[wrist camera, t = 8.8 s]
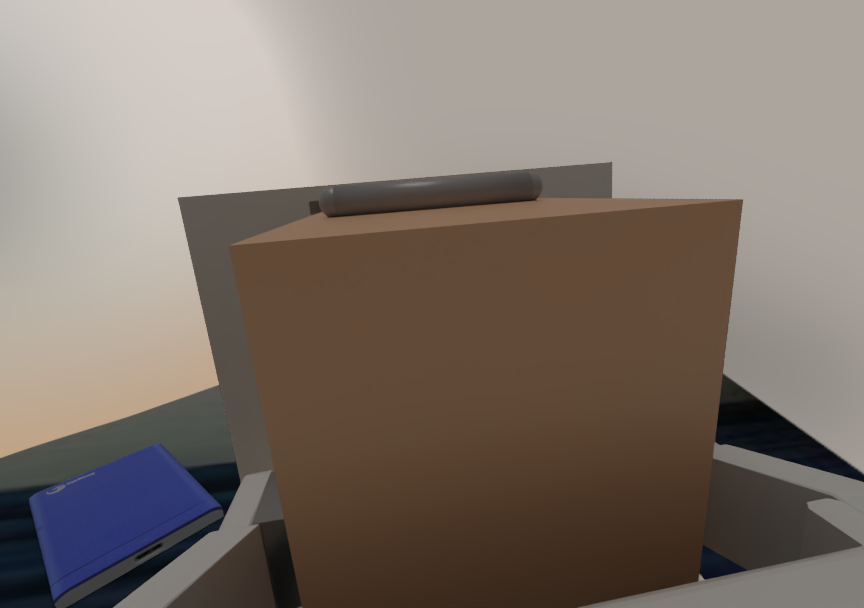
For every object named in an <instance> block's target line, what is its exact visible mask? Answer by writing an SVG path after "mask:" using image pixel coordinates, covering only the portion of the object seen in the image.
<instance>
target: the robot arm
mask: <svg viewBox="0 0 864 608" xmlns="http://www.w3.org/2000/svg"><path fill="white" fill-rule="evenodd" d="M703 545H705V546H706V547H708V548H710V549H712V550H713V551H715V552H717V553H719V554H720V555H722V556H724V557H726V558H728V559H729V560H731V561H733V562H735V563H736V564H738V565H740V566H742V567H743V568H745V569H747V570H749V571H745V572H740V573H735V574H731V575H726V576H721V577H717V578H712V579H707V580H703V581H698V582H693V583H689V584H684V585H679V586H675V587H670V588H665V589H661V590H656V591H651V592H647V593H642V594H637V595H633V596H628V597H623V598H619V599H614V600H610V601H605V602H600V603H596V604H591V605H587V606H582V607H577V608H864V482H861V481H857V480H854V479H850V478H846V477H843V476H839V475H835V474H832V473H828V472H825V471H821V470H817V469H814V468H810V467H807V466H803V465H799V464H796V463H792V462H788V461H785V460H781V459H778V458H774V457H770V456H767V455H763V454H759V453H756V452H752V451H749V450H745V449H741V448H738V447H734V446H730V445H727V444H726V445H718V444H717V443H714V452H713V460H712V469H711V478H710V486H709V495H708V503H707V512H706V520H705V529H704V537H703ZM298 607H302V605H301V600H300V595H299V590H298V586H297V581H296V576H295V571H294V566H293V561H292V556H291V551H290V546H289V541H288V536H287V531H286V526H285V521H284V517H283V512H282V507H281V502H280V497H279V492H278V487H277V482H276V477H275V472H274V471H272V470H270V471H264V472H258V473H252V474H248V475H246V476H245V477H244V478H243V480H242V482H241V484H240V486H239V489H238V491H237V493H236V495H235V497H234V499H233V501H232V503H231V505H230V508H229V510H228V512H227V514H226V516H225V518H224V520H223V522H222V524H221V527H220V529H219V531H215V532H210V533H209V534H207V535H206V536H205V537H203V538H202V539H201V540H200V541H198V542H197V543H196V544H194V545H193V546H192V547H191V548H189V549H188V550H187V551H185V552H184V553H183V554H182V555H180V556H179V557H178V558H176V559H175V560H174V561H173V562H171V563H170V564H169V565H167V566H166V567H165V568H164V569H162V570H161V571H160V572H158V573H157V574H156V575H155V576H153V577H152V578H151V579H149V580H148V581H147V582H146V583H144V584H143V585H142V586H140V587H139V588H138V589H137V590H135V591H134V592H133V593H131V594H130V595H129V596H128V597H126V598H125V599H124V600H122V601H121V602H120V603H119V604H117V605H116V606H115V607H113V608H298Z"/></svg>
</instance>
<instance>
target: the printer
mask: <svg viewBox="0 0 864 608" xmlns="http://www.w3.org/2000/svg"><path fill="white" fill-rule="evenodd" d="M517 172H533V173H535V174H537V175H538V176H539V177H540V179H541V181H542V184H543V189H542V192H541V194H540V196H539V197H538V198H612V162H610V163H598V164H585V165H573V166H560V167H548V168H537V169H524V170H511V171H499V172H487V173H475V174H462V175H451V176H438V177H426V178H414V179H401V180H389V181H376V182H364V183H352V184H340V185H328V186H315V187H304V188H291V189H279V190H267V191H254V192H242V193H230V194H217V195H205V196H193V197H180V198H178V201H179V205H180V210H181V214H182V218H183V223H184V228H185V232H186V237H187V241H188V246H189V250H190V255H191V259H192V263H193V268H194V273H195V277H196V282H197V286H198V291H199V295H200V300H201V305H202V309H203V314H204V317H205V323H206V327H207V332H208V336H209V340H210V345H211V350H212V354H213V359H214V363H215V367H216V372H217V377H218V381H219V386H220V390H221V395H222V399H223V404H224V408H225V413H226V417H227V422H228V426H229V431H230V435H231V440H232V444H233V449H234V454H235V458H236V463H237V467H238V472H239V476H240V481H241V482H242V480H243V478H244V477H245V476H246V475H248V474H252V473H258V472H264V471H270V470H272V471H274V467H273V462H272V457H271V452H270V448H269V443H268V438H267V433H266V428H265V423H264V418H263V413H262V408H261V403H260V398H259V393H258V388H257V383H256V379H255V374H254V369H253V364H252V359H251V354H250V349H249V344H248V339H247V334H246V329H245V324H244V319H243V314H242V309H241V305H240V300H239V295H238V290H237V285H236V280H235V275H234V270H233V265H232V260H231V255H230V250H229V245H232V244H234V243H237V242H240V241H243V240H245V239H248V238H251V237H254V236H256V235H259V234H262V233H265V232H267V231H270V230H273V229H276V228H279V227H281V226H284V225H287V224H290V223H292V222H295V221H298V220H301V219H303V218H306V217H309V216H312V215H314V214H317V213H320V212H322V211H321V209H320V207H319V197H320V194H321V193H322V192H323V191H324V190H325V189H326V188H328V187H331V186H342V185H355V184H369V183H382V182H396V181H409V180H423V179H436V178H450V177H463V176H477V175H490V174H504V173H517ZM703 580H704V579H703V577H702V576H701V575H700V574H699V580H698V581H703ZM298 608H302V607H298Z"/></svg>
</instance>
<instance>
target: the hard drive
mask: <svg viewBox="0 0 864 608" xmlns="http://www.w3.org/2000/svg"><path fill="white" fill-rule="evenodd" d="M29 504H30V507H31V511H32V515H33V520H34V524H35V528H36V531H37V536H38V540H39V544H40V548H41V552H42V556H43V560H44V565H45V568H46V572H47V576H48V580H49V584H50V588H51V594H52V597H53V602H54V604H55V606H56V608H66V607H68V606H70V605H71V604H73V603H75V602H76V601H78V600H80V599H82V598H83V597H85V596H87V595H88V594H90V593H92V592H94V591H95V590H97V589H99V588H101V587H102V586H104V585H106V584H107V583H109V582H111V581H113V580H114V579H116V578H118V577H119V576H121V575H123V574H125V573H126V572H128V571H130V570H132V569H133V568H135V567H137V566H138V565H140V564H142V563H144V562H145V561H147V560H149V559H151V558H152V557H154V556H156V555H157V554H159V553H161V552H163V551H164V550H166V549H168V548H170V547H171V546H173V545H175V544H176V543H178V542H180V541H182V540H183V539H185V538H187V537H189V536H190V535H192V534H194V533H195V532H197V531H199V530H201V529H202V528H204V527H206V526H208V525H209V524H211V523H213V522H215V521H216V520H218V519H220V518H221V517H223V516H224V514H223V510H222V507H221V505H220V504H219V503H218V502H217V501H216V500H215V499H214V498H213V497H212V496H211V495H210V494H209V493H208V492H207V491H206V490H205V489H204V488H203V487H202V486H201V485H200V484H199V483H198V482H197V481H196V480H195V479H194V478H193V477H192V476H191V475H190V473H188V471H187V470H186V469H185V468H184V467H183V466H182V465H181V464H180V463H179V462H178V461H177V460H176V459H175V458H174V457H173V456H172V455H171V454H170V453H169V452H168V451H167V450H166V449H165V448H164V447H163V446H162V445H161V444H155V445H152V446H149V447H147V448H145V449H142V450H140V451H137V452H135V453H132V454H130V455H127V456H125V457H122V458H120V459H118V460H115V461H113V462H111V463H108V464H106V465H103V466H101V467H98V468H96V469H94V470H91V471H89V472H86V473H84V474H81V475H79V476H77V477H74V478H72V479H69V480H67V481H64V482H62V483H60V484H57V485H55V486H52V487H50V488H47V489H45V490H43V491H40V492H38V493H36V494H35V495H33V496H32V497H30V498H29Z"/></svg>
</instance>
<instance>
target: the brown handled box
mask: <svg viewBox="0 0 864 608" xmlns="http://www.w3.org/2000/svg"><path fill="white" fill-rule="evenodd" d="M542 189H543V184H542V181H541V179H540V177H539V176H538V175H537V174H535V173H533V172H517V173H504V174H490V175H477V176H463V177H450V178H436V179H423V180H409V181H396V182H382V183H369V184H355V185H342V186H331V187H328V188H326V189H325V190H324V191H323V192H322V193H321V194H320V197H319V207H320V209H321V211H322V212H320V213H317V214H314V215H312V216H309V217H306V218H303V219H301V220H298V221H295V222H292V223H290V224H287V225H284V226H281V227H279V228H276V229H273V230H270V231H267V232H265V233H262V234H259V235H256V236H254V237H251V238H248V239H245V240H243V241H240V242H237V243H234V244H232V245H229V250H230V255H231V260H232V265H233V270H234V275H235V280H236V285H237V290H238V295H239V300H240V305H241V309H242V314H243V319H244V324H245V329H246V334H247V339H248V344H249V349H250V354H251V359H252V364H253V369H254V374H255V379H256V383H257V388H258V393H259V398H260V403H261V408H262V413H263V418H264V423H265V428H266V433H267V438H268V443H269V448H270V452H271V457H272V462H273V467H274V472H275V477H276V482H277V487H278V492H279V497H280V502H281V507H282V512H283V517H284V521H285V526H286V531H287V536H288V541H289V546H290V551H291V556H292V561H293V566H294V571H295V576H296V581H297V586H298V590H299V595H300V600H301V605H302V608H577V607H582V606H587V605H591V604H596V603H600V602H605V601H610V600H614V599H619V598H623V597H628V596H633V595H637V594H642V593H647V592H651V591H656V590H661V589H665V588H670V587H675V586H679V585H684V584H689V583H693V582H698V580H699V572H700V563H701V555H702V546H703V537H704V529H705V520H706V512H707V503H708V495H709V486H710V478H711V469H712V460H713V452H714V443H715V435H716V426H717V418H718V409H719V401H720V392H721V383H722V375H723V366H724V358H725V348H726V341H727V331H728V323H729V314H730V306H731V297H732V288H733V281H734V280H733V279H734V272H735V263H736V255H737V246H738V238H739V229H740V221H741V212H742V204H743V200H738V199H736V200H735V199H734V200H733V199H614V198H538V197H539V196H540V194H541V192H542Z"/></svg>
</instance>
